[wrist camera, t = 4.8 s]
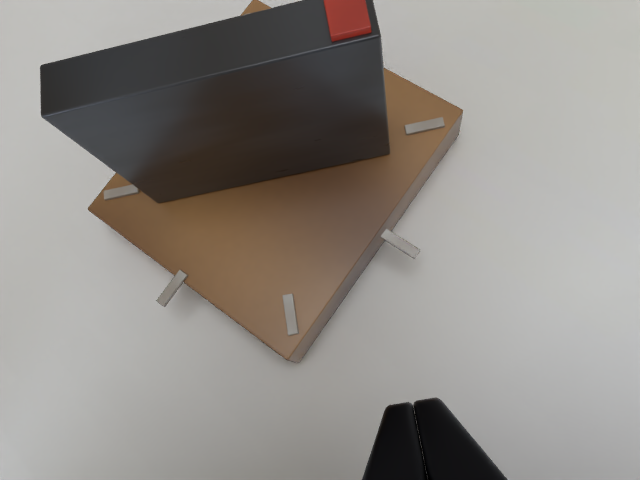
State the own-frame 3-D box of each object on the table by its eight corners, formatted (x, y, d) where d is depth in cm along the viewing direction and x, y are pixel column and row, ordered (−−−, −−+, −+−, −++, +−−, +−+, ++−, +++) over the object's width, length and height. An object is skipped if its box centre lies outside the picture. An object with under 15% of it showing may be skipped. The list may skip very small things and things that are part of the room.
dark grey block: (157, 204, 21) (33, 112, 14) (154, 166, 21) (33, 59, 15) (390, 154, 20) (380, 30, 13) (382, 115, 20) (368, -25, 14)
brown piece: (315, 415, 20) (304, 417, 18) (70, 224, 24) (38, 209, 22) (509, 131, 22) (520, 104, 20) (253, -5, 25) (239, -40, 23)
